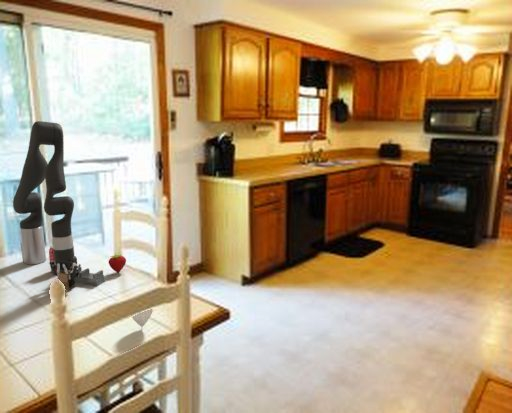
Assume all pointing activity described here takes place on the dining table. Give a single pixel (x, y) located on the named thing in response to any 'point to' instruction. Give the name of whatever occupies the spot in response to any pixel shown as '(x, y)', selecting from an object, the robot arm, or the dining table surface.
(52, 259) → the soda can
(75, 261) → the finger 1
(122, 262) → the strawberry
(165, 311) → the dining table surface
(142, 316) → the spinning top
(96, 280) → the rail
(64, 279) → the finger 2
